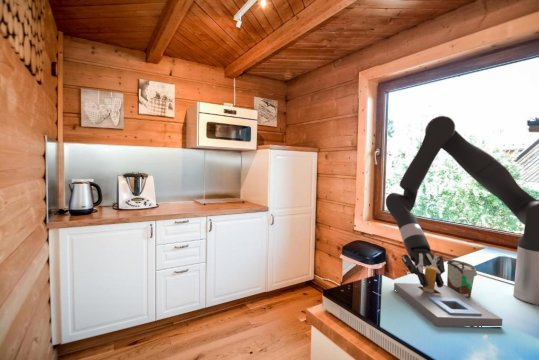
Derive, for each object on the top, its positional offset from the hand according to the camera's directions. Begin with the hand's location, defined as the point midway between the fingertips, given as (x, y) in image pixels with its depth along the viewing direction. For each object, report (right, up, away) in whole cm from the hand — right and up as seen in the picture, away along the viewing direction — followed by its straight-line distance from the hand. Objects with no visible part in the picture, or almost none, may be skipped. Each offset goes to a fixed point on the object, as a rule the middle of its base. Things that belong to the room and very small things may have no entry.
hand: (433, 286), depth 87 cm
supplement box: (0, -5, +2) cm, 5 cm away
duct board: (0, -5, -4) cm, 6 cm away
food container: (+14, -6, +7) cm, 17 cm away
